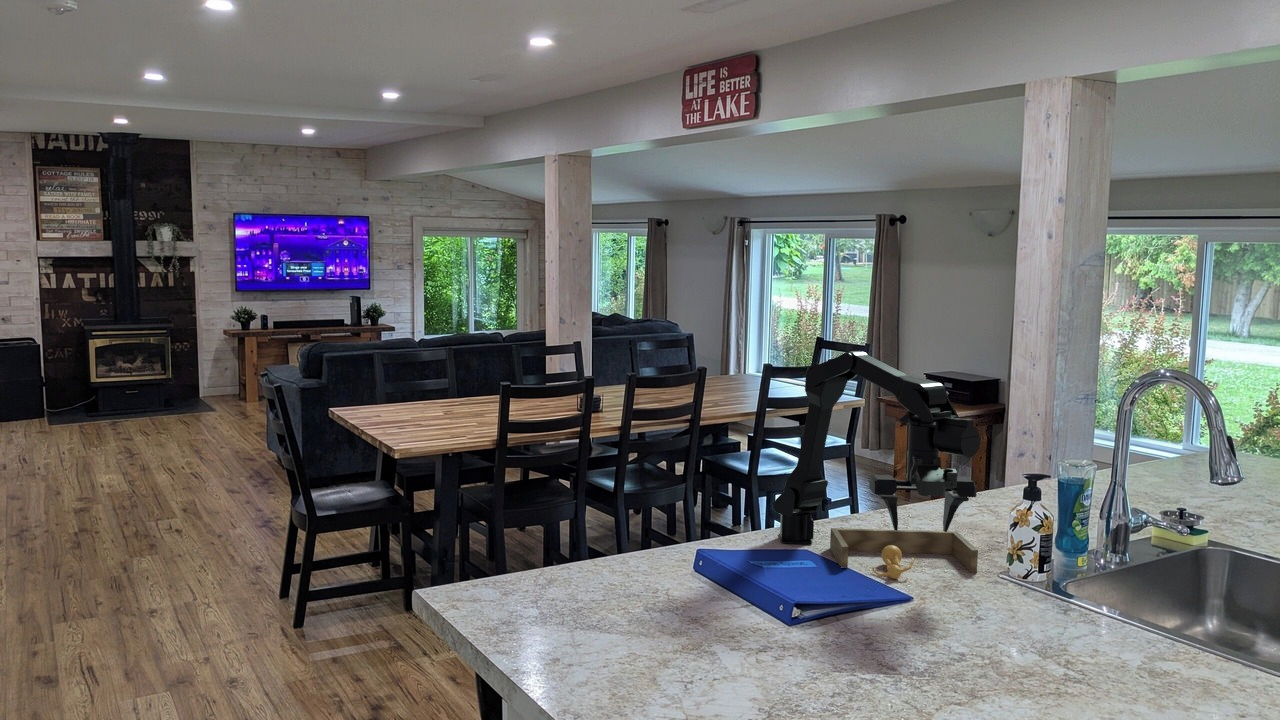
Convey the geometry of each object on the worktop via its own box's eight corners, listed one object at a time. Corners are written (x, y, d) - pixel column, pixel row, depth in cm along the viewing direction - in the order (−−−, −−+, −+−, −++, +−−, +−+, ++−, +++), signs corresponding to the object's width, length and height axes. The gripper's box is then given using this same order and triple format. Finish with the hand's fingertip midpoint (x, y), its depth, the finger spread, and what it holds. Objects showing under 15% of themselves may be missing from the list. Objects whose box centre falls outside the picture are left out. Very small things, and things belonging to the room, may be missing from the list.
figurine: (909, 539, 194) (908, 542, 183) (918, 569, 193) (918, 574, 181) (868, 550, 196) (865, 553, 185) (877, 579, 195) (874, 584, 183)
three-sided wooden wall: (841, 568, 190) (842, 546, 190) (830, 548, 204) (830, 528, 204) (976, 572, 189) (977, 550, 189) (956, 552, 203) (957, 531, 203)
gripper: (882, 455, 173) (879, 541, 174) (988, 458, 172) (984, 543, 173) (870, 445, 184) (867, 525, 185) (969, 447, 183) (965, 528, 185)
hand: (920, 530), depth 182 cm, fingers open, 9 cm apart
